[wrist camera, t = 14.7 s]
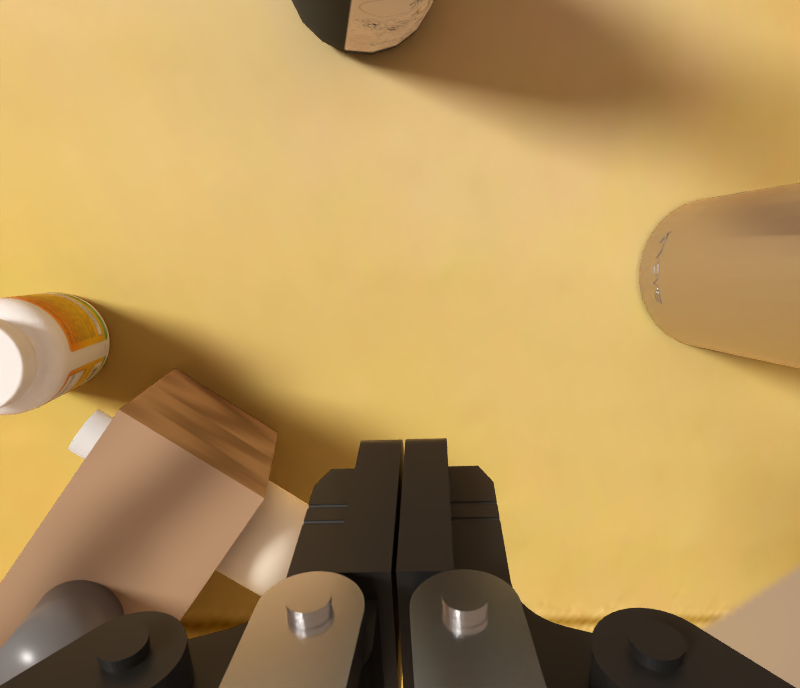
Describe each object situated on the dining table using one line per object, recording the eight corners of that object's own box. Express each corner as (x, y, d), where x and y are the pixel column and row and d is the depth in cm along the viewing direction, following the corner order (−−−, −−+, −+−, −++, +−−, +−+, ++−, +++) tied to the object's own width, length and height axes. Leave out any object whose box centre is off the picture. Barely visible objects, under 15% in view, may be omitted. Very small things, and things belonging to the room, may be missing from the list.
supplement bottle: (14, 285, 36) (-95, 292, 26) (116, 298, 37) (47, 310, 27) (5, 381, 36) (-104, 423, 27) (107, 393, 37) (35, 437, 28)
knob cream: (319, 497, 35) (320, 533, 30) (268, 570, 35) (260, 618, 30) (127, 378, 33) (96, 397, 28) (73, 456, 33) (33, 488, 28)
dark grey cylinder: (126, 580, 28) (95, 633, 24) (122, 661, 28) (91, 725, 24) (35, 578, 27) (-13, 632, 23) (32, 660, 27) (-15, 727, 23)
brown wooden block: (278, 433, 39) (264, 498, 28) (117, 666, 39) (42, 819, 28) (175, 367, 37) (118, 409, 27) (10, 609, 38) (-111, 746, 27)
